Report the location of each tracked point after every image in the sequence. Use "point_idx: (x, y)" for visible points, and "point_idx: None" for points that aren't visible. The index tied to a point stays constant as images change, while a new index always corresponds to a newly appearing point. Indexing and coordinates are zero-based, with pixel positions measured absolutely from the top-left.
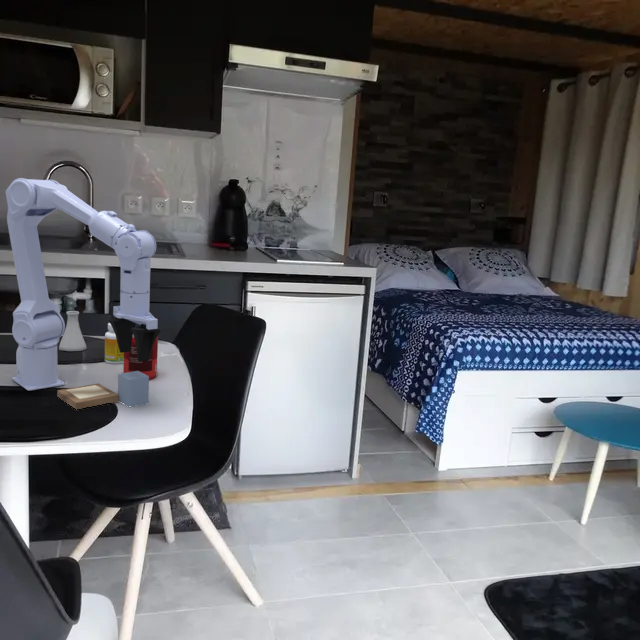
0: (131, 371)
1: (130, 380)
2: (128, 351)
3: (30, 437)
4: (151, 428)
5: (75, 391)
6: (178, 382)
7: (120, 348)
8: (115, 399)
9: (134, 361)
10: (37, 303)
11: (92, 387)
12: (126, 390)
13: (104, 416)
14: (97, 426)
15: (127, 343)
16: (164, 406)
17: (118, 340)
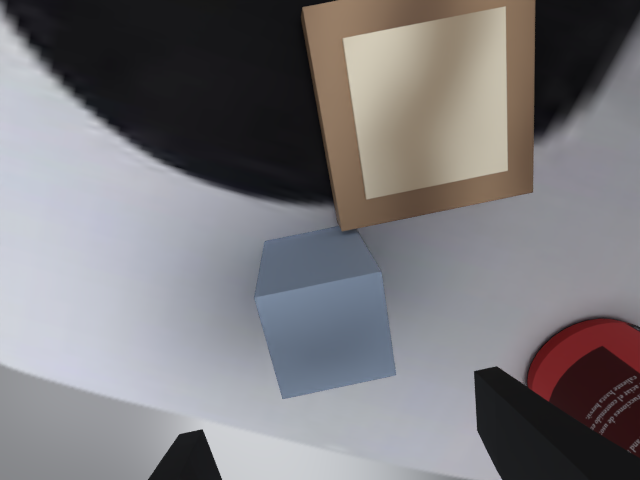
0: (585, 352)
1: (256, 303)
2: (477, 422)
3: None
4: (3, 257)
5: (462, 48)
6: (456, 456)
7: (494, 392)
8: (336, 212)
9: (613, 394)
10: None
11: (482, 147)
12: (281, 263)
13: (187, 121)
14: (66, 55)
15: (520, 476)
16: (233, 358)
17: (558, 441)
